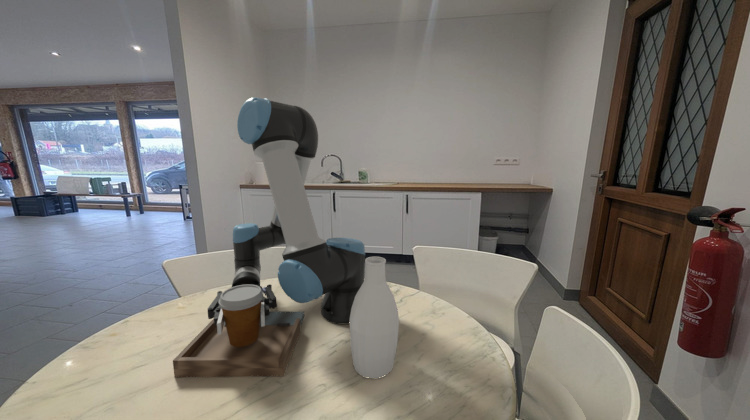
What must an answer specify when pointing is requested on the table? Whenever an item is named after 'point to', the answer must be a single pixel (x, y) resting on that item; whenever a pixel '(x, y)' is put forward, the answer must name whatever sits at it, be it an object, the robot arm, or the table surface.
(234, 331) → the disposable coffee cup
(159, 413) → the table surface
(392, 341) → the bottle
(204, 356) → the shallow wooden crate
